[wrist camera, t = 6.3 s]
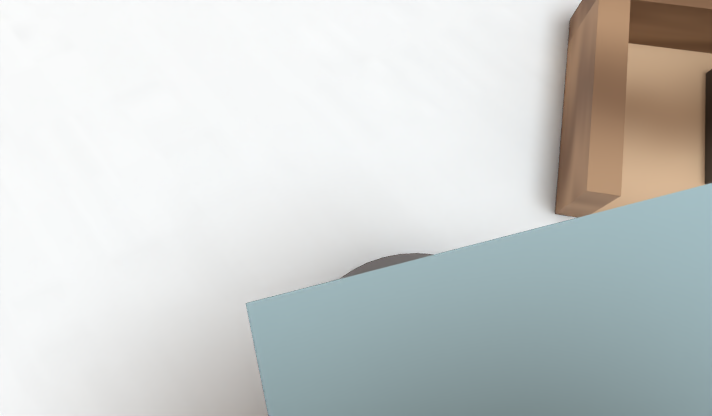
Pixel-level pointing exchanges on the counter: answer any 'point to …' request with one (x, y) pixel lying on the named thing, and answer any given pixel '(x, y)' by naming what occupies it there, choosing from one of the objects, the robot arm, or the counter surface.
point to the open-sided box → (635, 103)
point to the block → (510, 325)
